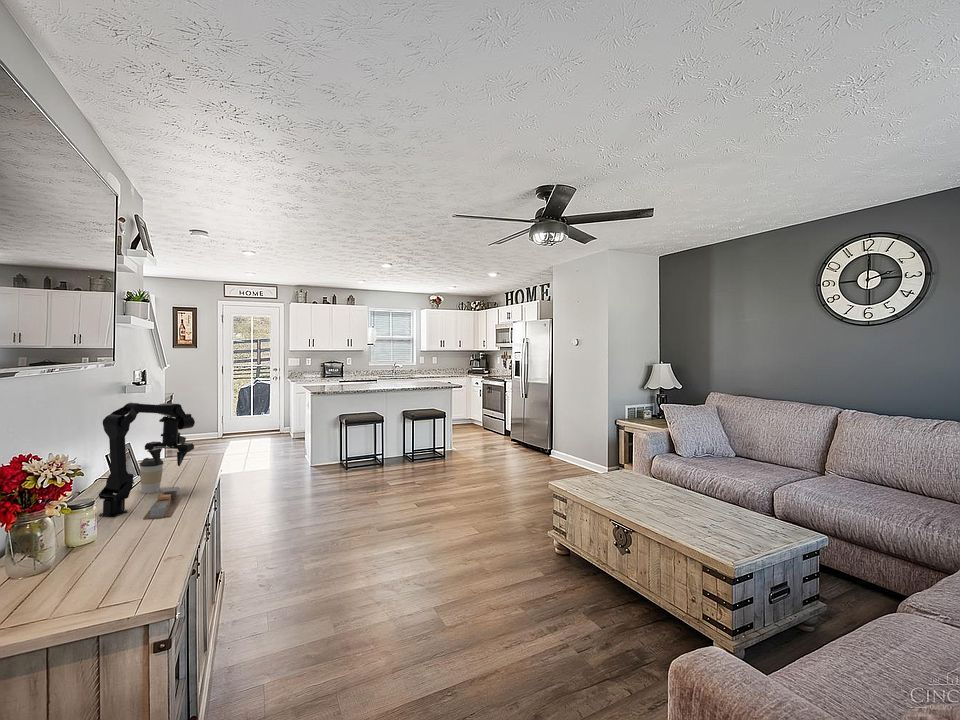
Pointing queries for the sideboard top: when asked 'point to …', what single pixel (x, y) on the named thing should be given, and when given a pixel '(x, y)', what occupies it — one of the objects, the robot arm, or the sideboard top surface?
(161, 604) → the sideboard top surface
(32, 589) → the sideboard top surface
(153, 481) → the coffee cup
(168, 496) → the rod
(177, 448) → the robot arm
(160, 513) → the tube base
